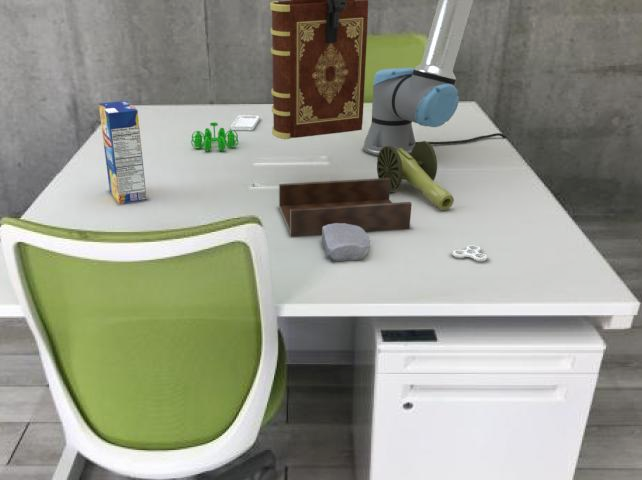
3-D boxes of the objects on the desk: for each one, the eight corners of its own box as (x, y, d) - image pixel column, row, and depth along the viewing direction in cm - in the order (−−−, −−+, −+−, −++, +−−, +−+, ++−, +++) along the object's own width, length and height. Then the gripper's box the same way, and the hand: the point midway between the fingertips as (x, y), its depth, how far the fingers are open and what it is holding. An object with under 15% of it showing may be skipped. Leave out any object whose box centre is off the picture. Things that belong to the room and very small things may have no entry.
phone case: (252, 130, 235) (260, 119, 248) (252, 126, 235) (260, 115, 247) (230, 130, 236) (239, 118, 249) (230, 125, 236) (238, 114, 248)
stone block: (361, 245, 159) (317, 238, 158) (366, 225, 157) (322, 218, 155) (371, 270, 149) (324, 263, 148) (377, 249, 147) (330, 242, 145)
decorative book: (279, 140, 175) (278, 5, 160) (268, 132, 182) (265, 1, 166) (362, 130, 182) (369, -1, 167) (349, 123, 188) (354, -4, 173)
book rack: (387, 201, 178) (389, 177, 175) (409, 228, 163) (411, 203, 160) (279, 207, 175) (278, 183, 172) (291, 236, 160) (291, 210, 156)
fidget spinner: (488, 261, 147) (489, 257, 147) (457, 262, 147) (458, 259, 146) (477, 247, 153) (478, 244, 153) (447, 248, 153) (448, 245, 152)
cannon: (466, 207, 174) (473, 161, 168) (424, 215, 170) (429, 168, 164) (410, 177, 193) (414, 134, 188) (371, 183, 189) (374, 140, 184)
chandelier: (228, 155, 212) (227, 131, 209) (182, 151, 216) (180, 127, 213) (246, 141, 224) (246, 119, 221) (202, 138, 229) (201, 115, 225)
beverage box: (119, 204, 178) (108, 113, 167) (109, 190, 187) (98, 103, 175) (146, 200, 180) (137, 110, 169) (135, 187, 189) (126, 100, 178)
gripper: (366, -69, 154) (361, 43, 166) (299, -71, 169) (298, 33, 180) (341, -68, 150) (337, 47, 162) (274, -70, 165) (275, 36, 176)
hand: (317, 40), depth 171 cm, fingers closed on decorative book, 9 cm apart
